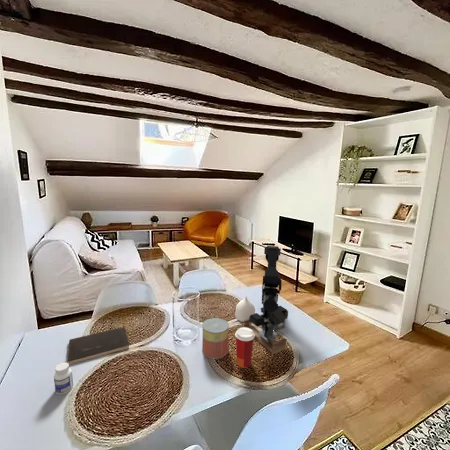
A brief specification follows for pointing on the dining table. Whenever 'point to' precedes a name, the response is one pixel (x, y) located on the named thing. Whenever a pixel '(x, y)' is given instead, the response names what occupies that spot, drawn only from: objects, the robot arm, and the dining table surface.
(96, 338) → the hardcover book
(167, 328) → the dining table surface
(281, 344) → the rail
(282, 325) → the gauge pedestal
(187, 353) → the dining table surface
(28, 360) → the dining table surface
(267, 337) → the carriage
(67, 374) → the pill bottle
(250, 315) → the robot arm
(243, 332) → the paper cup
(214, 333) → the canned food
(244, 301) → the teardrop
